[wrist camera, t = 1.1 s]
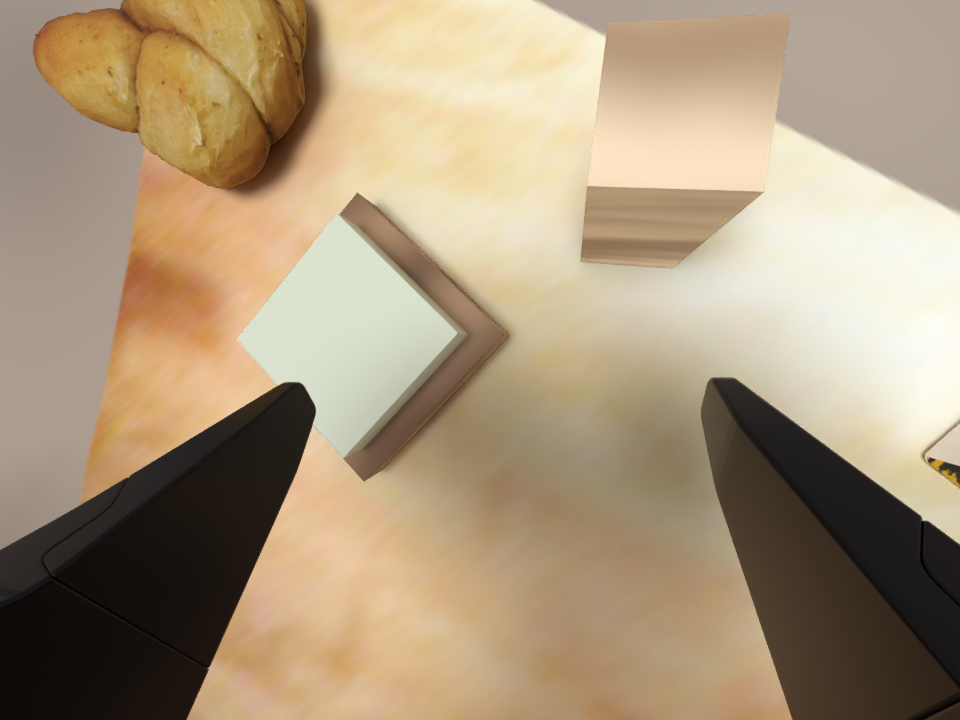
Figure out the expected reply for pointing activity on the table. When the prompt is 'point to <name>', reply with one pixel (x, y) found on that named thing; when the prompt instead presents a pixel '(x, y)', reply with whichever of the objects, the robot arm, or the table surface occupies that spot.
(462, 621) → the table surface
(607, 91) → the oak block
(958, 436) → the medicine bottle
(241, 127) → the bread roll
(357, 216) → the walnut base slab
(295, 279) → the sage slab
